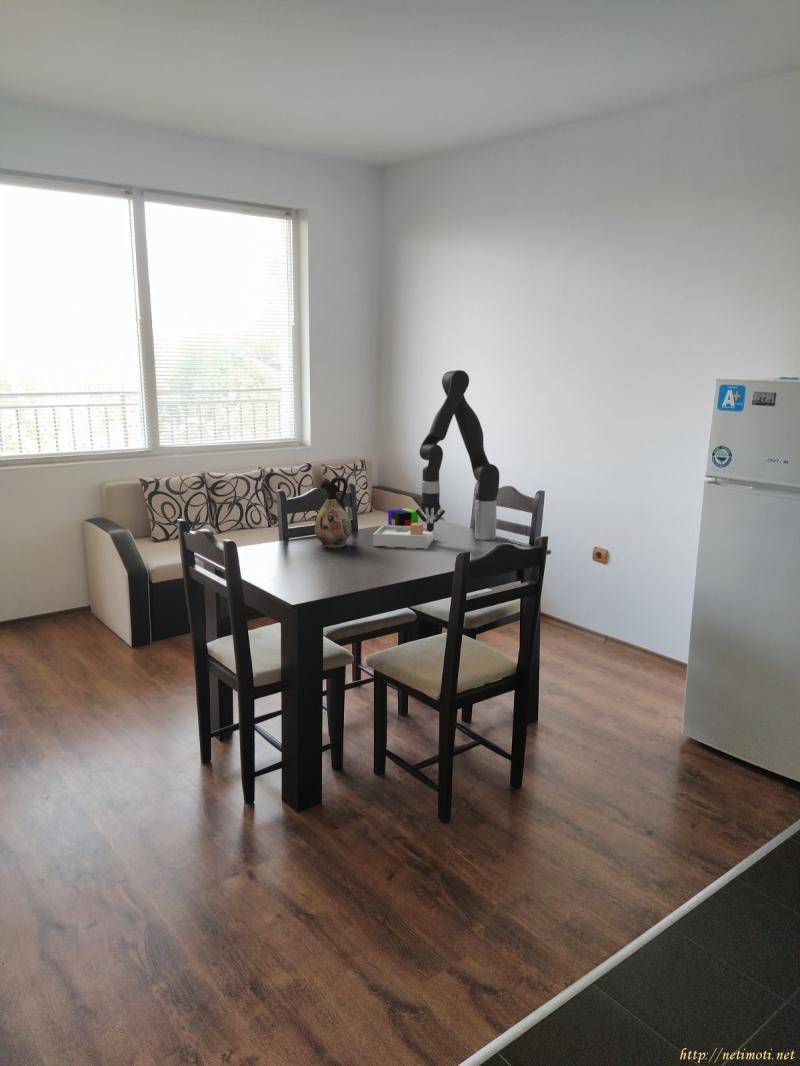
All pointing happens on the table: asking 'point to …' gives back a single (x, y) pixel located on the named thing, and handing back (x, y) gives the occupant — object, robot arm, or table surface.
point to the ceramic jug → (333, 516)
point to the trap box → (401, 537)
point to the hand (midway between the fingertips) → (430, 531)
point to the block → (416, 529)
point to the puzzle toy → (402, 517)
